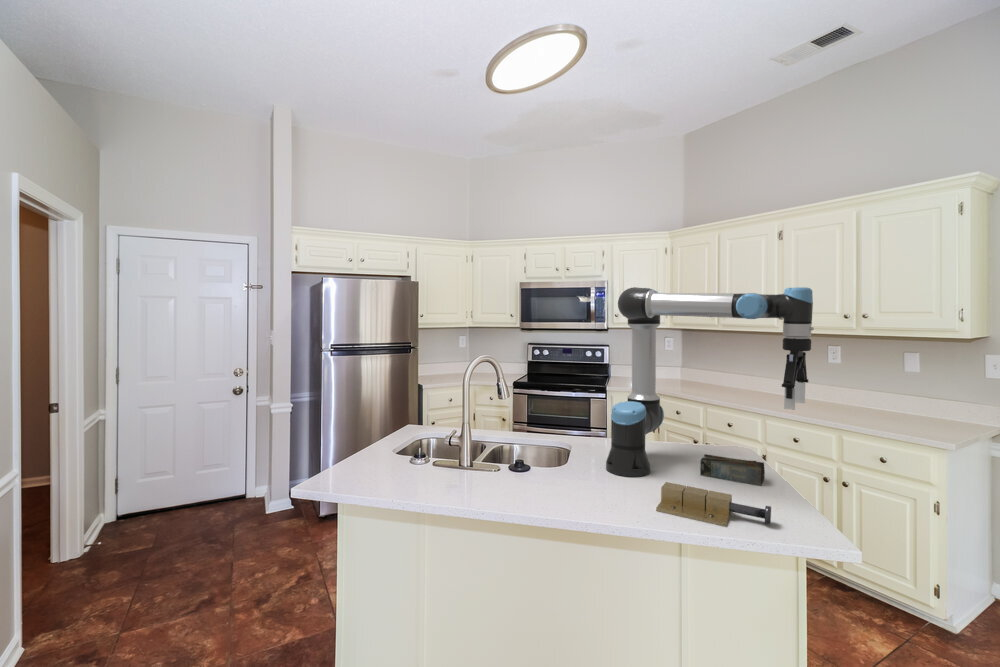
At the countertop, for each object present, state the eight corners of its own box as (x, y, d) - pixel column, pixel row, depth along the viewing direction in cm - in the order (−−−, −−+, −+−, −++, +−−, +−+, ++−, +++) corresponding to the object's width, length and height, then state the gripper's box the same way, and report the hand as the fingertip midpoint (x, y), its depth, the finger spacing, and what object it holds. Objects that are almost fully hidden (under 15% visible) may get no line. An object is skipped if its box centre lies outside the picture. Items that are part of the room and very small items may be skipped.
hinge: (656, 510, 136) (656, 492, 136) (669, 493, 149) (670, 477, 149) (725, 526, 127) (726, 507, 126) (733, 506, 139) (734, 489, 139)
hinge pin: (692, 509, 136) (692, 494, 136) (695, 504, 140) (695, 489, 140) (769, 526, 126) (770, 510, 126) (770, 520, 130) (771, 504, 129)
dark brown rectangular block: (703, 469, 172) (704, 451, 172) (764, 480, 162) (765, 461, 161) (699, 476, 165) (700, 457, 165) (763, 487, 155) (763, 467, 155)
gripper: (802, 340, 137) (799, 413, 138) (819, 336, 155) (816, 401, 157) (772, 339, 142) (770, 410, 143) (792, 335, 161) (790, 398, 162)
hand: (794, 405), depth 150 cm, fingers open, 13 cm apart
